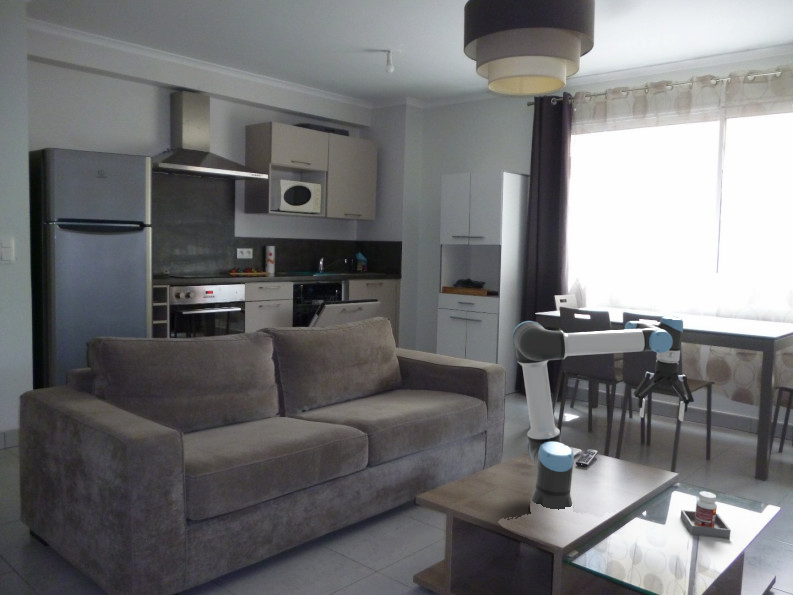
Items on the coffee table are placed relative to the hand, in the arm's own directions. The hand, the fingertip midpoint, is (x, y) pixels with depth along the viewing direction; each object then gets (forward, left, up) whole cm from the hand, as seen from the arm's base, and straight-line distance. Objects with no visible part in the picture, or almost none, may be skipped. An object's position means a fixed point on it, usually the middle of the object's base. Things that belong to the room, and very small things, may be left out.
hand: (660, 418), depth 235 cm
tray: (+13, -17, -32) cm, 38 cm away
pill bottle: (+13, -17, -31) cm, 38 cm away
